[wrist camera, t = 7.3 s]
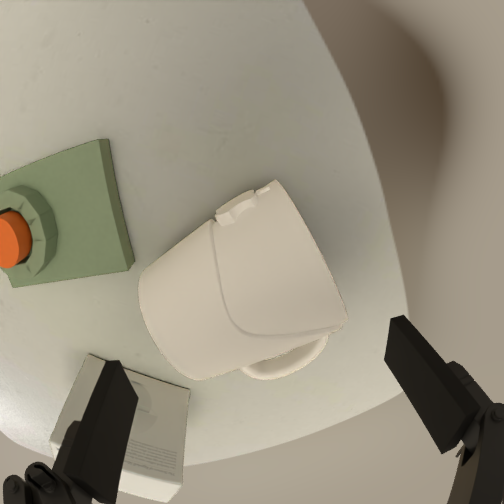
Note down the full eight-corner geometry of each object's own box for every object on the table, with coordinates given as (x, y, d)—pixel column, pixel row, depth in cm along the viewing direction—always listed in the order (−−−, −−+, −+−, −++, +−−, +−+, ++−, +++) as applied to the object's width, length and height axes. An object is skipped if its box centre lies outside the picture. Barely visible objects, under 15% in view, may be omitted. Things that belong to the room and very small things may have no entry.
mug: (149, 239, 20) (110, 295, 13) (267, 171, 19) (292, 191, 12) (234, 356, 24) (238, 431, 17) (334, 306, 23) (373, 372, 16)
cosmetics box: (84, 391, 25) (54, 468, 15) (87, 352, 23) (46, 438, 14) (175, 423, 27) (167, 506, 18) (192, 389, 25) (184, 485, 16)
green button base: (108, 138, 17) (86, 139, 14) (135, 261, 21) (120, 282, 17) (-6, 182, 17) (-32, 190, 14) (22, 279, 20) (1, 298, 17)
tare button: (24, 205, 15) (9, 212, 14) (38, 255, 17) (25, 265, 15) (-6, 216, 15) (-21, 223, 13) (7, 262, 16) (-6, 271, 15)
